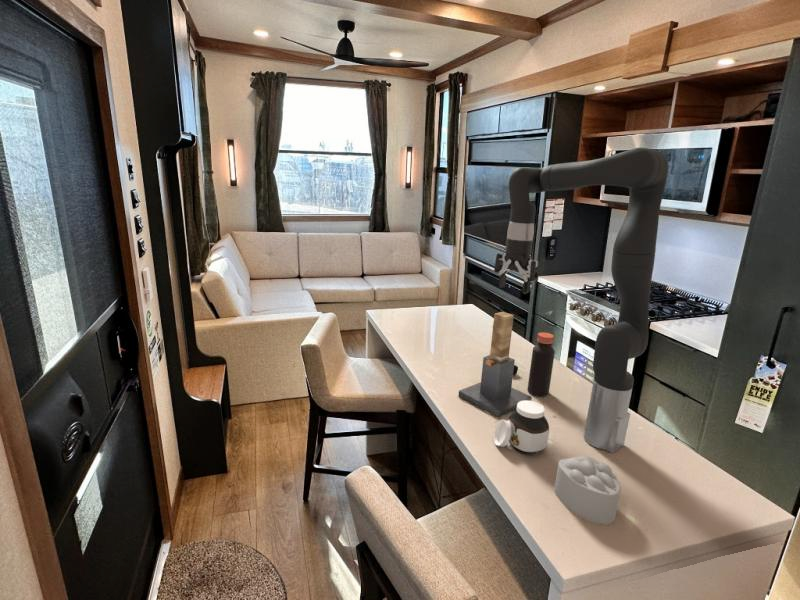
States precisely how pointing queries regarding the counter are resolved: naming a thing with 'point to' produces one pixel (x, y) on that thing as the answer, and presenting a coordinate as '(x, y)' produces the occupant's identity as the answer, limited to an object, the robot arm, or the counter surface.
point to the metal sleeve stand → (495, 389)
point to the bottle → (541, 365)
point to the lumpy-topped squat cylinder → (588, 489)
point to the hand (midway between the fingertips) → (513, 290)
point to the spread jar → (524, 428)
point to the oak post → (501, 336)
